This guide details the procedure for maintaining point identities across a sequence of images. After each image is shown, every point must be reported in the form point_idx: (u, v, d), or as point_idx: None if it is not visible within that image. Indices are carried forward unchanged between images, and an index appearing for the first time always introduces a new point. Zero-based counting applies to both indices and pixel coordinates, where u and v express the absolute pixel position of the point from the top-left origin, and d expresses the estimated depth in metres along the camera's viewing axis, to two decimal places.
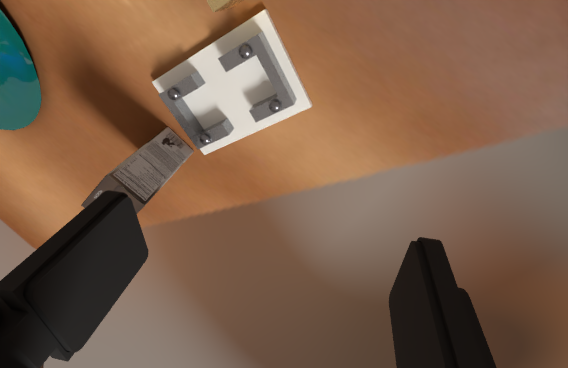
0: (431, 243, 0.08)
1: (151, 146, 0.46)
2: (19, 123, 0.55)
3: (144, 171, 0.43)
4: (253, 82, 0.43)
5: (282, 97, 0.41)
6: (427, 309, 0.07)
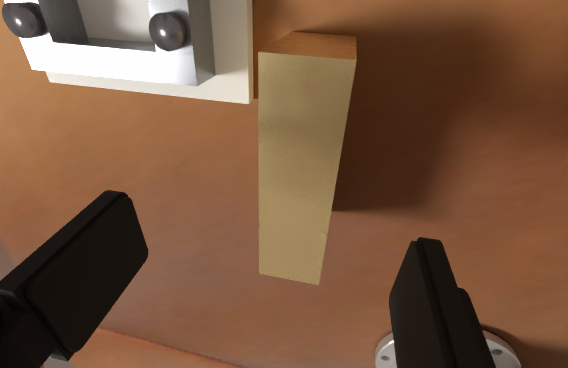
0: (431, 243, 0.08)
1: None
2: None
3: None
4: None
5: (49, 52, 0.16)
6: (427, 309, 0.07)
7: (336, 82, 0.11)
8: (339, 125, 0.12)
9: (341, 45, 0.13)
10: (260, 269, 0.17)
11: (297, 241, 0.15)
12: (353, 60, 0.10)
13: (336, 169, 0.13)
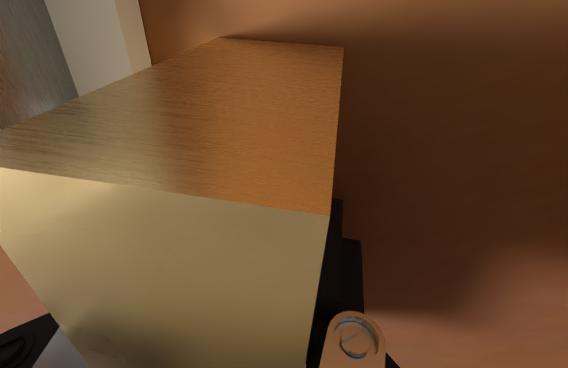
0: (333, 201, 0.09)
1: None
2: None
3: None
4: None
5: None
6: None
7: (254, 272, 0.03)
8: (284, 362, 0.04)
9: (301, 86, 0.05)
10: None
11: None
12: (316, 213, 0.02)
13: None
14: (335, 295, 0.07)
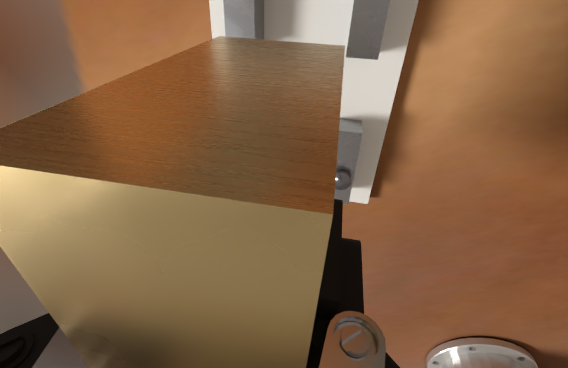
0: None
1: None
2: None
3: None
4: None
5: None
6: None
7: (256, 272, 0.03)
8: (285, 362, 0.04)
9: (302, 84, 0.05)
10: None
11: None
12: (318, 211, 0.02)
13: None
14: (335, 294, 0.07)
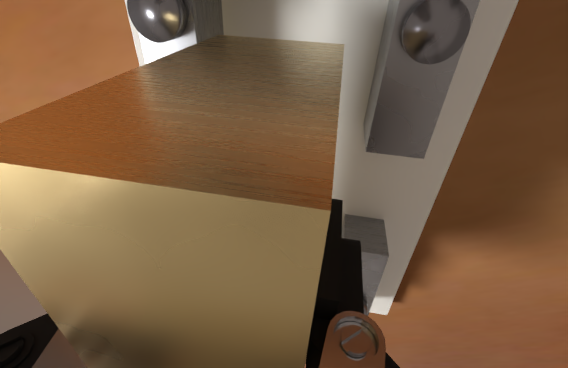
0: (333, 201, 0.09)
1: None
2: None
3: None
4: None
5: None
6: None
7: (254, 269, 0.03)
8: (284, 361, 0.04)
9: (300, 82, 0.05)
10: None
11: None
12: (316, 207, 0.02)
13: None
14: (335, 295, 0.07)
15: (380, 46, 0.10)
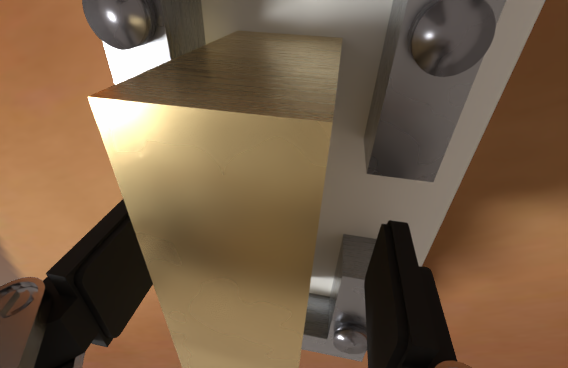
0: (398, 225, 0.09)
1: None
2: None
3: None
4: None
5: None
6: (389, 283, 0.07)
7: (285, 169, 0.04)
8: (300, 249, 0.05)
9: (309, 63, 0.06)
10: None
11: None
12: (324, 122, 0.04)
13: (302, 314, 0.06)
14: (432, 342, 0.06)
15: (383, 52, 0.09)
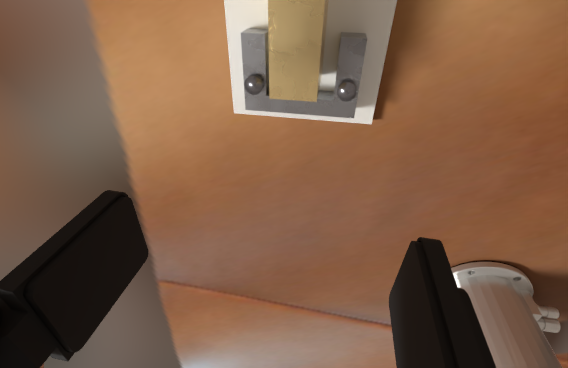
0: (431, 243, 0.08)
1: None
2: None
3: None
4: None
5: (262, 100, 0.27)
6: (427, 309, 0.07)
7: None
8: None
9: None
10: (270, 93, 0.22)
11: (298, 56, 0.20)
12: None
13: None
14: None
15: None
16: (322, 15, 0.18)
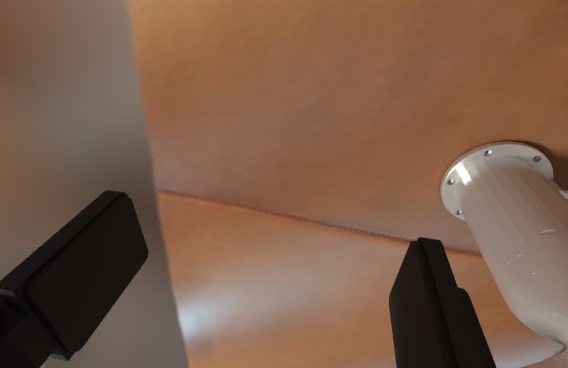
0: (431, 243, 0.08)
1: None
2: None
3: None
4: None
5: None
6: (427, 309, 0.07)
7: None
8: None
9: None
10: None
11: None
12: None
13: None
14: None
15: None
16: None
